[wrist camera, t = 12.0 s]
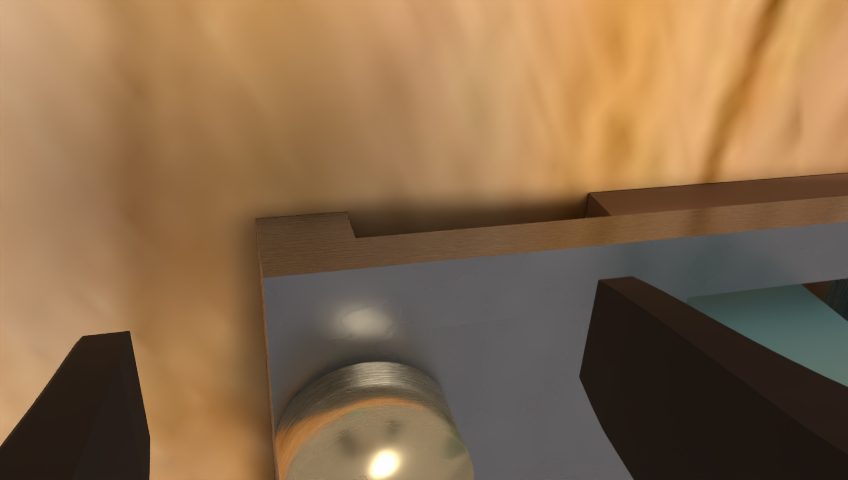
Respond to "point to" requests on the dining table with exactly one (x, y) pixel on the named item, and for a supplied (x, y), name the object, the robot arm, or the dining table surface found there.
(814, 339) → the block
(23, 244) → the dining table surface
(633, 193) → the walnut link
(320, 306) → the metal link
